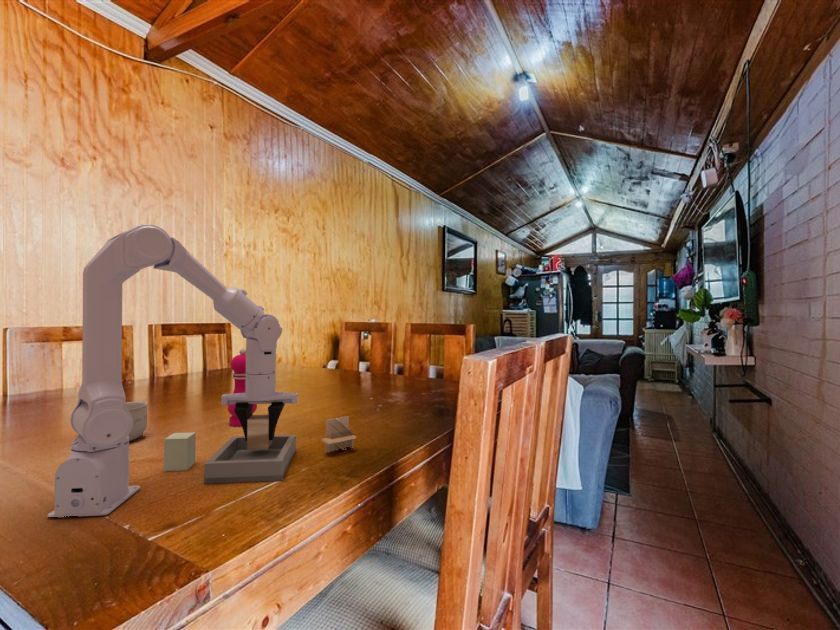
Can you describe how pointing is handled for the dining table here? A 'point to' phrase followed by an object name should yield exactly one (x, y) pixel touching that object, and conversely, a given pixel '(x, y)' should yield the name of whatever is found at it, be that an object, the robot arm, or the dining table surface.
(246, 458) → the tray
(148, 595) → the dining table surface
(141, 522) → the dining table surface
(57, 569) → the dining table surface
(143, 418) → the teacup
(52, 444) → the dining table surface
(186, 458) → the sage block
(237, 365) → the pepper mill
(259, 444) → the brown metal block
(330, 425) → the architectural model
